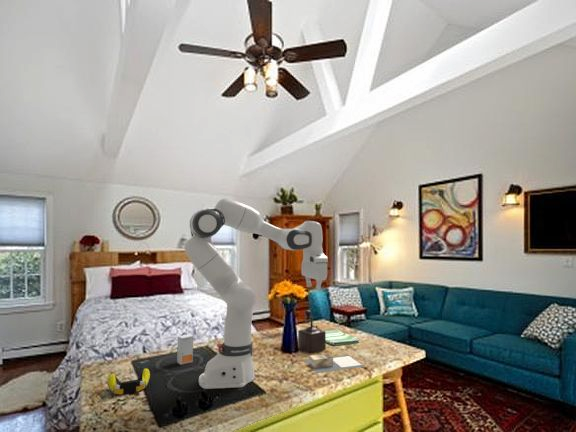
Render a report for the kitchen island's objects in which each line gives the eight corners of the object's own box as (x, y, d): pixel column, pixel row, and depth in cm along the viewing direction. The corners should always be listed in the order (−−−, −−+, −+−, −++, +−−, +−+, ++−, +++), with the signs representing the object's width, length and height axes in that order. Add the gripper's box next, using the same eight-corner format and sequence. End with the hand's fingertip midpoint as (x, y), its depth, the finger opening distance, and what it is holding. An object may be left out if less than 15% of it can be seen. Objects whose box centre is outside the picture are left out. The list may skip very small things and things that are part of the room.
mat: (316, 374, 148) (316, 372, 148) (303, 361, 163) (303, 359, 163) (365, 367, 155) (365, 366, 155) (348, 355, 170) (348, 354, 170)
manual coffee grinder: (327, 350, 178) (327, 314, 179) (310, 354, 172) (309, 317, 173) (308, 342, 191) (308, 308, 192) (292, 345, 185) (292, 311, 186)
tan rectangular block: (314, 368, 153) (314, 359, 153) (309, 363, 158) (309, 355, 158) (333, 365, 156) (333, 357, 156) (328, 361, 161) (328, 353, 161)
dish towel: (338, 332, 212) (338, 327, 213) (360, 343, 191) (360, 338, 191) (312, 335, 206) (312, 330, 206) (331, 347, 184) (331, 342, 184)
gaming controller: (107, 387, 135) (106, 398, 126) (107, 373, 135) (107, 382, 126) (149, 380, 141) (151, 390, 132) (149, 366, 142) (151, 375, 133)
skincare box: (180, 365, 158) (181, 338, 158) (176, 362, 161) (177, 336, 162) (193, 362, 161) (193, 335, 162) (189, 359, 165) (189, 333, 165)
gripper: (297, 256, 166) (298, 285, 165) (316, 259, 146) (316, 292, 146) (310, 255, 168) (310, 284, 167) (329, 258, 149) (330, 291, 148)
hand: (313, 288), depth 156 cm, fingers open, 8 cm apart
